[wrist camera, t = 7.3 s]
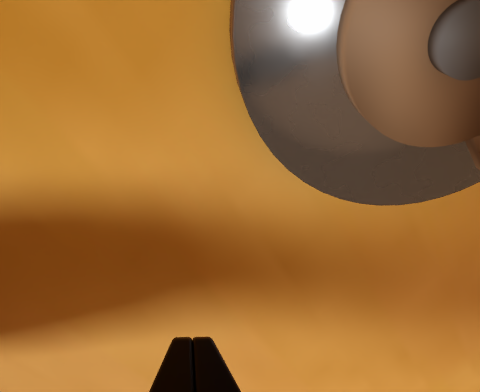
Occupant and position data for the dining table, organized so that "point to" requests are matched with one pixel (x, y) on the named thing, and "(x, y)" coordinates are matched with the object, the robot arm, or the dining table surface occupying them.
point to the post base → (328, 110)
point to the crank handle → (414, 69)
